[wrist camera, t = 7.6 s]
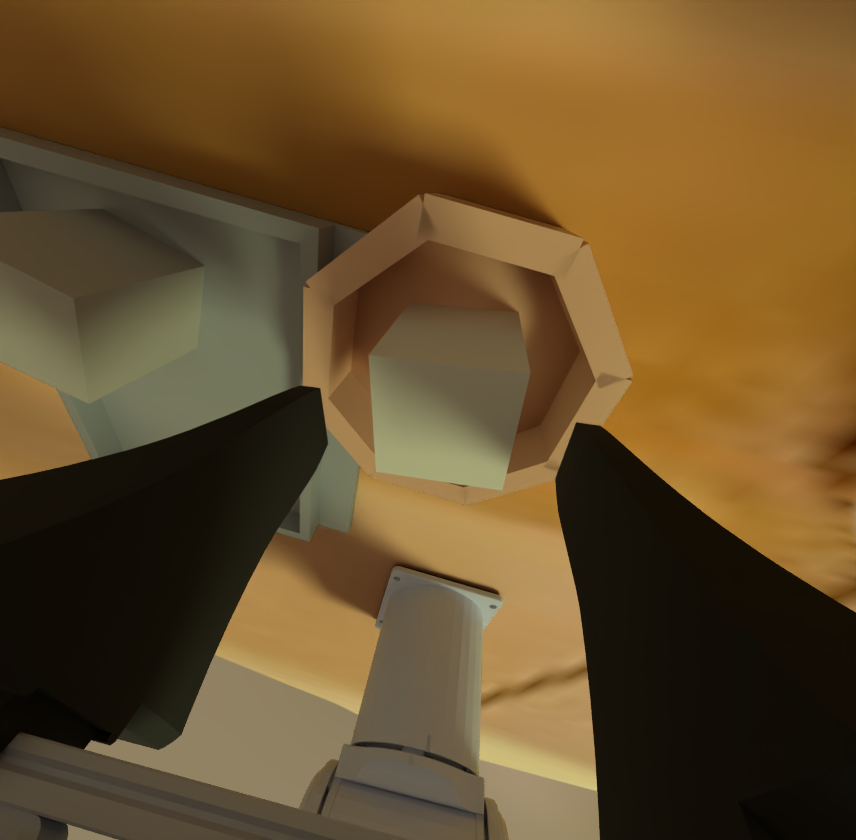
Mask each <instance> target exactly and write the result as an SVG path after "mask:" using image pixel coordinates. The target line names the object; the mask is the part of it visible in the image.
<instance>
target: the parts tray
mask: <svg viewBox="0 0 856 840" xmlns="http://www.w3.org/2000/svg"><path fill="white" fill-rule="evenodd" d="M75 209H104V210H106V211H108V212H109V213H111V214H113V215H115V216H116V217H118V218H120V219H122V220H124V221H125V222H127V223H129V224H131V225H133V226H134V227H136V228H138V229H140V230H142V231H143V232H145V233H147V234H149V235H151V236H152V237H154V238H156V239H158V240H160V241H161V242H163V243H165V244H167V245H169V246H170V247H172V248H174V249H176V250H178V251H179V252H181V253H183V254H185V255H187V256H188V257H190V258H192V259H194V260H195V261H197V262H199V263H201V264H203V265H204V266H205V272H204V282H203V293H202V303H201V314H200V324H199V335H198V345H197V348H196V349H194V350H192V351H190V352H188V353H187V354H185V355H183V356H181V357H179V358H177V359H175V360H173V361H171V362H169V363H167V364H165V365H163V366H161V367H159V368H158V369H156V370H154V371H152V372H150V373H148V374H146V375H144V376H142V377H140V378H138V379H136V380H134V381H132V382H130V383H129V384H127V385H125V386H123V387H121V388H119V389H117V390H115V391H113V392H111V393H109V394H107V395H105V396H103V397H101V398H99V399H98V400H96V401H94V402H92V403H90V404H88V403H86V402H84V401H82V400H80V399H78V398H76V397H74V396H71V395H69V394H67V393H65V392H63V391H61V390H59V389H57V388H56V389H57V391H58V393H59V395H60V397H61V399H62V401H63V403H64V405H65V407H66V409H67V411H68V413H69V415H70V417H71V419H72V421H73V423H74V425H75V427H76V429H77V431H78V433H79V435H80V437H81V439H82V441H83V443H84V445H85V447H86V449H87V451H88V453H89V455H90V457H91V459H95V458H99V457H103V456H107V455H111V454H115V453H118V452H122V451H126V450H130V449H133V448H136V447H140V446H143V445H146V444H149V443H152V442H156V441H159V440H162V439H165V438H168V437H171V436H174V435H177V434H180V433H182V432H185V431H188V430H191V429H193V428H196V427H198V426H201V425H203V424H206V423H208V422H211V421H214V420H216V419H219V418H221V417H224V416H226V415H229V414H231V413H234V412H236V411H238V410H241V409H243V408H245V407H248V406H250V405H252V404H255V403H257V402H259V401H262V400H264V399H266V398H269V397H271V396H273V395H276V394H278V393H281V392H283V391H286V390H288V389H291V388H294V387H297V386H300V385H301V386H303V286H305V285H307V283H306V281H307V280H308V279H310V278H311V277H312V276H314V275H315V274H316V273H317V272H319V271H320V270H321V269H323V268H324V267H325V266H327V265H328V264H329V263H330V262H332V261H333V260H334V259H336V258H337V257H338V256H339V255H341V254H342V253H343V252H345V251H346V250H347V249H349V248H350V247H351V246H352V245H354V244H355V243H356V242H358V241H359V240H360V239H362V238H363V237H364V236H365V235H367V234H368V233H369V232H366V231H363V230H359V229H356V228H352V227H349V226H345V225H342V224H339V223H335V222H332V221H328V220H325V219H321V218H318V217H314V216H311V215H307V214H304V213H300V212H297V211H293V210H290V209H286V208H283V207H279V206H276V205H272V204H269V203H265V202H262V201H258V200H255V199H251V198H248V197H244V196H241V195H237V194H234V193H230V192H227V191H223V190H220V189H216V188H213V187H209V186H206V185H202V184H199V183H195V182H192V181H188V180H185V179H182V178H178V177H175V176H171V175H168V174H164V173H161V172H157V171H154V170H150V169H147V168H143V167H140V166H136V165H133V164H129V163H126V162H122V161H119V160H115V159H112V158H108V157H105V156H101V155H98V154H94V153H91V152H87V151H84V150H80V149H77V148H73V147H70V146H66V145H63V144H59V143H56V142H52V141H49V140H45V139H42V138H38V137H35V136H31V135H28V134H25V133H21V132H18V131H14V130H11V129H7V128H4V127H0V212H21V211H48V210H75ZM326 431H327V438H328V446H327V448H326V450H325V452H324V455H323V457H322V459H321V461H320V463H319V465H318V467H317V469H316V471H315V473H314V475H313V476H312V478H311V479H310V481H309V482H308V484H307V486H306V487H305V489H304V490H303V492H302V493H301V495H300V496H299V498H298V499H297V501H296V502H295V504H294V505H293V507H292V508H291V510H290V511H289V513H288V515H287V516H286V518H285V519H284V521H283V522H282V524H281V525H280V527H279V528H278V530H277V531H276V533H280V534H283V535H287V536H290V537H293V538H297V539H300V540H304V541H307V542H309V541H310V540H311V538H312V536H313V534H314V532H315V530H316V528H317V526H318V525H321V526H324V527H327V528H331V529H334V530H338V531H341V532H345V533H349V530H350V528H351V523H352V516H353V510H354V503H355V496H356V490H357V483H358V476H359V470H360V465H359V464H358V463H357V462H356V461H355V460H354V458H353V457H352V456H351V455H350V454H349V453H348V452H347V450H346V449H345V448H344V447H343V446H342V445H341V443H340V442H339V441H338V440H337V439H336V438H335V437H334V435H333V434H332V433H331V432H330V431H329V430H328V429H327V427H326Z"/></svg>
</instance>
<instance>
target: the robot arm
mask: <svg viewBox="0 0 856 840" xmlns="http://www.w3.org/2000/svg"><path fill="white" fill-rule="evenodd" d="M327 446H328V438H327V431H326V424H325V417H324V410H323V403H322V396H321V389H320V388H316V387H309V386H301V385H300V386H297V387H294V388H291V389H288V390H286V391H283V392H281V393H278V394H276V395H273V396H271V397H269V398H266V399H264V400H262V401H259V402H257V403H255V404H252V405H250V406H248V407H245V408H243V409H241V410H238V411H236V412H234V413H231V414H229V415H226V416H224V417H221V418H219V419H216V420H214V421H211V422H208V423H206V424H203V425H201V426H198V427H196V428H193V429H191V430H188V431H185V432H182V433H180V434H177V435H174V436H171V437H168V438H165V439H162V440H159V441H156V442H152V443H149V444H146V445H143V446H140V447H136V448H133V449H130V450H126V451H122V452H118V453H115V454H111V455H107V456H103V457H99V458H95V459H92V460H88V461H84V462H80V463H76V464H72V465H68V466H64V467H60V468H55V469H51V470H46V471H41V472H37V473H32V474H28V475H23V476H18V477H13V478H8V479H3V480H0V840H67V837H68V826H67V824H69V825H72V826H75V827H79V828H82V829H85V830H88V831H92V832H95V833H98V834H101V835H105V836H108V837H112V838H115V839H118V840H509V838H508V832H507V828H506V823H505V821H504V819H503V817H502V815H501V814H500V812H499V810H498V807H497V804H496V803H495V801H494V800H493V799H490V798H486V797H484V786H485V784H484V783H485V780H484V778H483V777H479V747H480V712H481V676H482V641H483V630H484V628H485V627H486V626H487V624H488V623H489V622H490V620H491V619H492V618H493V617H494V615H495V614H496V613H497V611H498V610H499V609H500V607H501V606H502V605H503V598H502V597H501V596H500V595H497V594H493V593H490V592H487V591H483V590H480V589H476V588H473V587H469V586H466V585H463V584H459V583H456V582H452V581H449V580H445V579H442V578H439V577H435V576H432V575H428V574H425V573H421V572H418V571H415V570H411V569H408V568H404V567H401V566H395V567H393V568H392V572H391V575H390V578H389V581H388V585H387V588H386V591H385V594H384V598H383V601H382V604H381V607H380V611H379V614H378V617H377V620H376V624H375V626H376V628H378V629H380V630H381V631H380V635H379V638H378V642H377V646H376V650H375V654H374V657H373V661H372V665H371V669H370V673H369V676H368V680H367V684H366V688H365V692H364V695H363V699H362V703H361V707H360V711H359V715H358V718H357V722H356V726H355V730H354V734H353V738H352V742H351V745H348V744H344V745H343V747H342V751H341V754H340V758H339V760H335V759H331V760H330V761H328V762H327V763H326V765H325V766H324V767H323V768H322V769H321V770H320V771H319V772H318V773H317V774H316V775H315V776H314V778H313V779H312V781H311V782H310V784H309V786H308V788H307V790H306V793H305V795H304V797H303V799H302V802H301V804H300V807H299V809H297V808H294V807H290V806H286V805H283V804H279V803H275V802H272V801H268V800H265V799H261V798H257V797H254V796H250V795H246V794H243V793H239V792H236V791H232V790H228V789H224V788H221V787H217V786H214V785H210V784H206V783H203V782H199V781H196V780H192V779H188V778H185V777H181V776H178V775H174V774H170V773H167V772H163V771H160V770H156V769H152V768H149V767H145V766H141V765H138V764H134V763H130V762H127V761H123V760H120V759H116V758H113V757H109V756H105V755H102V754H98V753H94V752H91V751H87V750H84V749H85V747H86V746H87V745H88V743H89V742H90V741H91V740H93V741H96V742H100V743H104V744H107V745H111V744H113V743H114V742H115V741H116V740H117V739H120V740H124V741H127V742H131V743H135V744H138V745H143V746H146V747H150V748H153V749H157V750H159V749H161V748H164V747H165V746H167V745H169V744H170V743H171V742H173V741H174V740H176V739H177V738H178V737H179V736H180V735H181V734H182V732H183V729H184V727H185V724H186V721H187V719H188V716H189V714H190V712H191V709H192V707H193V704H194V702H195V699H196V697H197V695H198V692H199V689H200V687H201V685H202V682H203V680H204V678H205V675H206V673H207V670H208V668H209V665H210V663H211V661H212V659H213V657H214V654H215V652H216V650H217V648H218V646H219V643H220V641H221V639H222V637H223V634H224V632H225V630H226V628H227V626H228V623H229V621H230V619H231V617H232V615H233V613H234V611H235V609H236V607H237V605H238V602H239V600H240V598H241V596H242V594H243V592H244V590H245V588H246V586H247V584H248V582H249V580H250V578H251V576H252V574H253V572H254V570H255V569H256V567H257V565H258V563H259V561H260V559H261V557H262V555H263V553H264V551H265V549H266V548H267V546H268V544H269V543H270V541H271V539H272V538H273V536H274V534H275V533H276V531H277V530H278V528H279V527H280V525H281V524H282V522H283V521H284V519H285V518H286V516H287V515H288V513H289V511H290V510H291V508H292V507H293V505H294V504H295V502H296V501H297V499H298V498H299V496H300V495H301V493H302V492H303V490H304V489H305V487H306V486H307V484H308V482H309V481H310V479H311V478H312V476H313V475H314V473H315V471H316V469H317V467H318V465H319V463H320V461H321V459H322V457H323V455H324V452H325V450H326V448H327ZM555 481H556V495H557V505H558V513H559V517H560V522H561V526H562V531H563V535H564V539H565V544H566V548H567V552H568V556H569V561H570V565H571V569H572V573H573V578H574V582H575V586H576V591H577V596H578V601H579V606H580V613H581V621H582V628H583V636H584V644H585V652H586V661H587V671H588V680H589V689H590V699H591V711H592V723H593V734H594V746H595V759H596V776H597V792H598V808H599V828H600V840H856V612H854V611H852V610H851V609H849V608H847V607H845V606H844V605H842V604H840V603H839V602H837V601H835V600H834V599H832V598H830V597H829V596H827V595H826V594H824V593H822V592H821V591H819V590H818V589H816V588H814V587H813V586H811V585H809V584H808V583H806V582H805V581H803V580H801V579H800V578H798V577H797V576H795V575H793V574H792V573H790V572H789V571H787V570H785V569H784V568H782V567H781V566H779V565H778V564H776V563H775V562H773V561H772V560H770V559H769V558H767V557H765V556H764V555H762V554H761V553H759V552H758V551H757V550H755V549H754V548H752V547H751V546H749V545H748V544H747V543H745V542H744V541H742V540H741V539H739V538H738V537H737V536H735V535H734V534H732V533H731V532H729V531H728V530H726V529H725V528H724V527H722V526H721V525H720V524H718V523H717V522H715V521H714V520H713V519H711V518H710V517H709V516H707V515H706V514H705V513H703V512H702V511H701V510H700V509H698V508H697V507H696V506H695V505H693V504H692V503H691V502H690V501H688V500H687V499H686V498H684V497H683V496H682V495H681V494H679V493H678V492H677V491H676V490H675V489H673V488H672V487H671V486H670V485H669V484H667V483H666V482H665V481H664V480H663V479H661V478H660V477H659V476H658V475H657V474H656V473H654V472H653V471H652V470H651V469H650V468H649V467H648V466H646V465H645V464H644V463H643V462H642V461H641V460H640V459H638V458H637V457H636V456H635V455H634V454H633V453H632V452H631V451H630V450H628V449H627V448H626V447H625V446H624V445H623V444H622V443H621V442H619V441H618V440H617V439H616V438H615V437H614V436H613V435H611V434H610V433H609V432H608V431H606V430H605V429H604V428H603V427H601V426H600V425H593V424H585V423H578V422H576V424H575V427H574V429H573V432H572V435H571V437H570V440H569V443H568V445H567V448H566V451H565V453H564V456H563V459H562V461H561V464H560V467H559V470H558V472H557V475H556V478H555Z"/></svg>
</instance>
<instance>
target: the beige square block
mask: <svg viewBox="0 0 856 840" xmlns="http://www.w3.org/2000/svg"><path fill="white" fill-rule="evenodd" d="M204 272H205V266H204V265H203V264H201V263H199V262H197V261H195V260H194V259H192V258H190V257H188V256H187V255H185V254H183V253H181V252H179V251H178V250H176V249H174V248H172V247H170V246H169V245H167V244H165V243H163V242H161V241H160V240H158V239H156V238H154V237H152V236H151V235H149V234H147V233H145V232H143V231H142V230H140V229H138V228H136V227H134V226H133V225H131V224H129V223H127V222H125V221H124V220H122V219H120V218H118V217H116V216H115V215H113V214H111V213H109V212H108V211H106V210H104V209H75V210H48V211H21V212H0V362H1V363H3V364H5V365H8V366H10V367H12V368H14V369H16V370H18V371H20V372H23V373H25V374H27V375H29V376H31V377H33V378H35V379H37V380H40V381H42V382H44V383H46V384H48V385H50V386H52V387H54V388H57V389H59V390H61V391H63V392H65V393H67V394H69V395H71V396H74V397H76V398H78V399H80V400H82V401H84V402H86V403H88V404H90V403H92V402H94V401H96V400H98V399H99V398H101V397H103V396H105V395H107V394H109V393H111V392H113V391H115V390H117V389H119V388H121V387H123V386H125V385H127V384H129V383H130V382H132V381H134V380H136V379H138V378H140V377H142V376H144V375H146V374H148V373H150V372H152V371H154V370H156V369H158V368H159V367H161V366H163V365H165V364H167V363H169V362H171V361H173V360H175V359H177V358H179V357H181V356H183V355H185V354H187V353H188V352H190V351H192V350H194V349H196V348H197V345H198V335H199V324H200V314H201V303H202V293H203V282H204Z"/></svg>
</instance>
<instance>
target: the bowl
mask: <svg viewBox="0 0 856 840" xmlns="http://www.w3.org/2000/svg"><path fill="white" fill-rule="evenodd" d="M583 240H584V238H582V237H580V236H578V235H576V234H574V233H572V232H570V231H568V230H566V229H564V228H560V227H557V226H553V225H550V224H546V223H543V222H539V221H536V220H532V219H529V218H525V217H522V216H518V215H515V214H511V213H508V212H504V211H501V210H497V209H494V208H490V207H487V206H483V205H480V204H476V203H473V202H469V201H466V200H462V199H459V198H455V197H452V196H448V195H445V194H441V193H425V195H417V196H416V197H415V198H413V199H412V200H411V201H409V202H408V203H407V204H406V205H404V206H403V207H402V208H400V209H399V210H398V211H396V212H395V213H394V214H393V215H391V216H390V217H389V218H387V219H386V220H385V221H384V222H382V223H381V224H380V225H378V226H377V227H376V228H374V229H373V230H372V231H371V232H369V233H368V234H367V235H365V236H364V237H363V238H362V239H360V240H359V241H358V242H356V243H355V244H354V245H352V246H351V247H350V248H349V249H347V250H346V251H345V252H343V253H342V254H341V255H339V256H338V257H337V258H336V259H334V260H333V261H332V262H330V263H329V264H328V265H327V266H325V267H324V268H323V269H321V270H320V271H319V272H317V273H316V274H315V275H314V276H312V277H311V278H310V279H308V280H307V281H306V283H307V285H305V286H303V386H309V387H316V388H320V389H321V396H322V403H323V410H324V417H325V424H326V427H327V429H328V430H329V431H330V432H331V433H332V434H333V435H334V437H335V438H336V439H337V440H338V441H339V442H340V443H341V445H342V446H343V447H344V448H345V449H346V450H347V452H348V453H349V454H350V455H351V456H352V457H353V458H354V460H355V461H356V462H357V463H358V464H359V465H360V467H361V468H362V469H363V470H364V471H365V472H366V473H367V475H368V476H370V475H373V476H372V478H373V479H377V480H380V481H384V482H387V483H391V484H394V485H397V486H401V487H404V488H408V489H411V490H415V491H418V492H422V493H425V494H428V495H432V496H435V497H439V498H442V499H446V500H449V501H453V502H456V503H459V504H463V505H464V504H465V502H466V503H467V504H468V505H470V504H473V503H477V502H480V501H484V500H487V499H491V498H494V497H498V496H501V495H505V494H508V493H512V492H515V491H519V490H522V489H526V488H529V487H533V486H536V485H540V484H543V483H547V482H550V481H554V480H555V478H556V475H557V472H558V470H559V467H560V464H561V461H562V459H563V456H564V453H565V451H566V448H567V445H568V443H569V440H570V437H571V435H572V432H573V429H574V427H575V424H576V422H578V423H585V424H593V425H600V426H601V427H602V425H603V424H604V422H605V421H606V419H607V418H608V416H609V415H610V413H611V412H612V411H613V409H614V408H615V406H616V405H617V403H618V402H619V400H620V399H621V397H622V396H623V394H624V393H625V391H626V390H627V388H628V387H629V386H630V384H631V383H632V380H631V378H630V377H632V376H633V373H632V370H631V367H630V364H629V361H628V358H627V355H626V352H625V349H624V346H623V343H622V340H621V337H620V335H619V332H618V329H617V326H616V323H615V320H614V317H613V314H612V311H611V308H610V305H609V302H608V299H607V296H606V293H605V290H604V287H603V284H602V281H601V278H600V275H599V272H598V269H597V266H596V263H595V260H594V257H593V254H592V251H591V248H590V245H589V243H587V242H585V241H583ZM409 303H421V304H433V305H444V306H455V307H466V308H477V309H489V310H500V311H511V312H519V317H520V322H521V327H522V332H523V337H524V342H525V348H526V353H527V358H528V363H529V368H530V377H529V381H528V385H527V390H526V394H525V398H524V402H523V406H522V411H521V415H520V419H519V423H518V427H517V431H516V436H515V440H514V444H513V448H512V452H511V456H510V461H509V465H508V469H507V473H506V477H505V482H504V486H503V490H502V491H501V490H494V489H488V488H481V487H474V486H468V485H461V484H454V483H448V482H441V481H434V480H427V479H421V478H414V477H407V476H401V475H394V474H387V473H381V472H376V464H375V449H374V433H373V417H372V402H371V386H370V370H369V354H370V353H371V351H372V350H373V349H374V348H375V346H376V345H377V344H378V342H379V341H380V340H381V339H382V337H383V336H384V335H385V334H386V332H387V331H388V330H389V328H390V327H391V326H392V325H393V323H394V322H395V321H396V320H397V318H398V317H399V316H400V314H401V313H402V312H403V311H404V309H405V308H406V307H407V306H408V304H409Z"/></svg>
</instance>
